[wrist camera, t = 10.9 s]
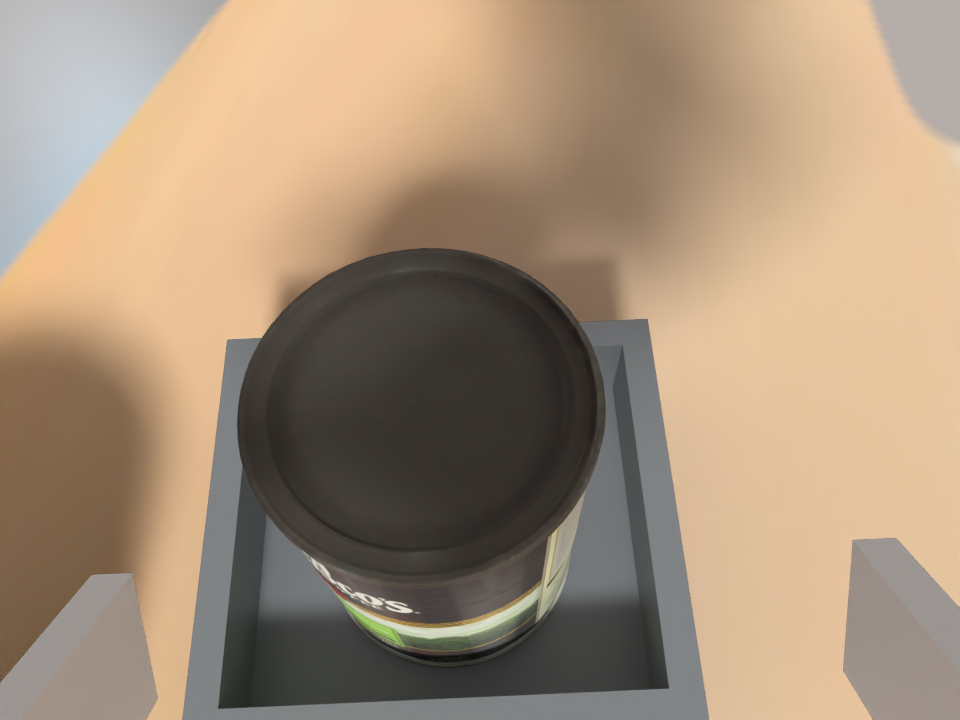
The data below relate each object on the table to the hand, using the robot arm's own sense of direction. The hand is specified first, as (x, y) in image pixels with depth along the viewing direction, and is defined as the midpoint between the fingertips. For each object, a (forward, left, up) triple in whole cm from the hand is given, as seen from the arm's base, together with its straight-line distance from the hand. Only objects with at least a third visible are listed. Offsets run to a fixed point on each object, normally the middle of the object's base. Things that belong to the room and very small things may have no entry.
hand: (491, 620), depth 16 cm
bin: (+2, -7, -22) cm, 24 cm away
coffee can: (+2, -7, -20) cm, 21 cm away
